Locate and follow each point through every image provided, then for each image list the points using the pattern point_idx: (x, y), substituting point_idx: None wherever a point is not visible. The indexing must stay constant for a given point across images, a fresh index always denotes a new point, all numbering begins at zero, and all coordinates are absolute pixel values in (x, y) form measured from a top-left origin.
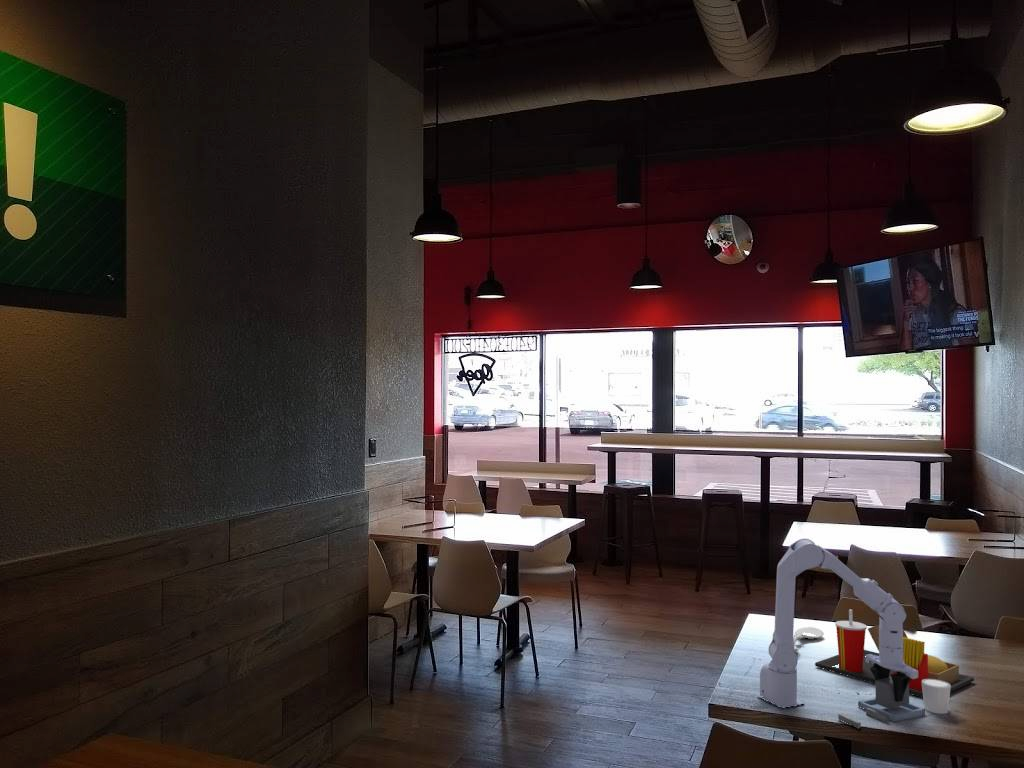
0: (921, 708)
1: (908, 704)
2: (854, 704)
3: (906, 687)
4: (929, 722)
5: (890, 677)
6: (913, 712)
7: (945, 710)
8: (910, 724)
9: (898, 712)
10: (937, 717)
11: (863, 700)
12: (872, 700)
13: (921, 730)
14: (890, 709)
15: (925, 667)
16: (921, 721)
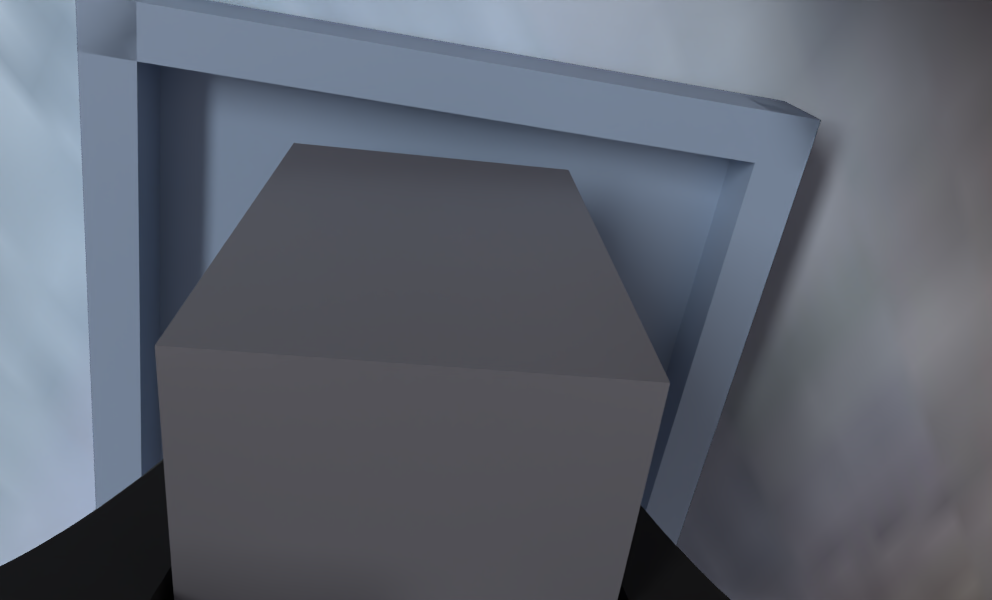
0: (770, 151)
1: (533, 125)
2: (38, 534)
3: (719, 593)
4: (912, 308)
5: (214, 589)
6: (732, 365)
7: None
8: (769, 532)
9: None
10: (946, 32)
11: None
12: (145, 444)
13: (911, 574)
14: None
15: None
16: (827, 360)
